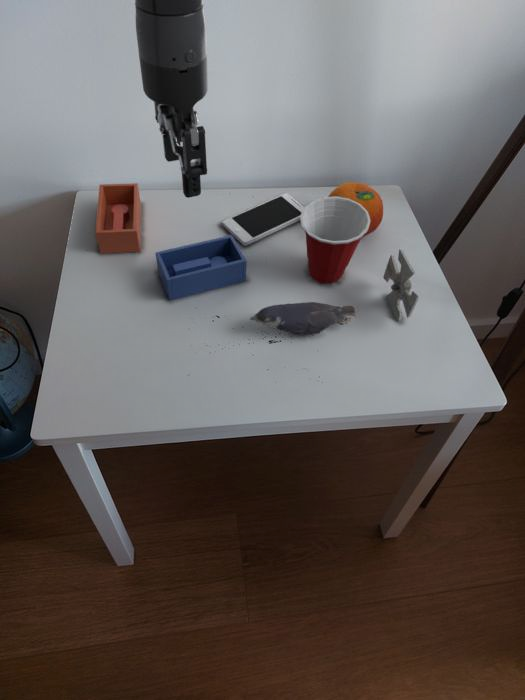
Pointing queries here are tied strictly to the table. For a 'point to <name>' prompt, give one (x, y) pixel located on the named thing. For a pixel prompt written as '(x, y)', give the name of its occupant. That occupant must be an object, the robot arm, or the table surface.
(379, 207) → the fruit
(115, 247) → the orange bin
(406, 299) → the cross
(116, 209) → the red spoon
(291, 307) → the bird model
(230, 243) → the blue bin
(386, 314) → the table surface
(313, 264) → the plastic cup
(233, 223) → the smartphone
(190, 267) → the blue spoon
